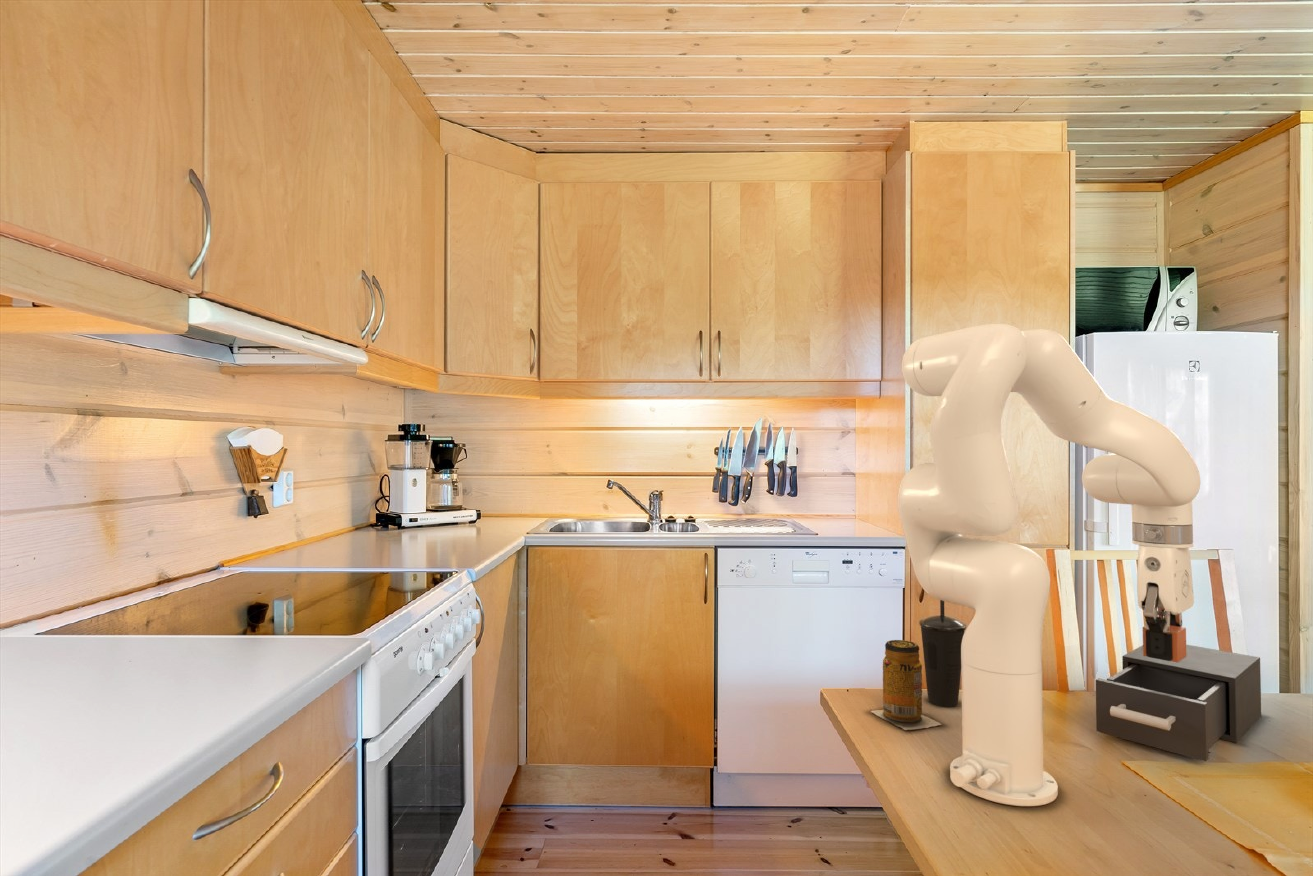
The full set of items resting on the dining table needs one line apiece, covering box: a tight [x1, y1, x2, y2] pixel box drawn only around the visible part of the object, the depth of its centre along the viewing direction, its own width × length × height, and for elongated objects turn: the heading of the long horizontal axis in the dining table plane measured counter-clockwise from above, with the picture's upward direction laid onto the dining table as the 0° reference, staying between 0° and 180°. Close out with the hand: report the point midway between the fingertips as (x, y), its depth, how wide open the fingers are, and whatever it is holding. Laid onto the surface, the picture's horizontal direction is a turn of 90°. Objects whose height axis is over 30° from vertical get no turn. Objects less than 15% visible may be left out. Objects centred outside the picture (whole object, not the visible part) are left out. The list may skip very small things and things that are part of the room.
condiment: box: [870, 639, 943, 731], centre depth 112 cm, size 7×8×12 cm
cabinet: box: [1121, 644, 1262, 744], centre depth 113 cm, size 17×15×10 cm
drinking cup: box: [918, 600, 968, 708], centre depth 119 cm, size 8×8×20 cm
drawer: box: [1095, 663, 1228, 762], centre depth 103 cm, size 20×13×8 cm
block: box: [1142, 625, 1187, 662], centre depth 105 cm, size 4×4×4 cm
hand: (1164, 654), depth 105 cm, fingers closed on block, 4 cm apart
